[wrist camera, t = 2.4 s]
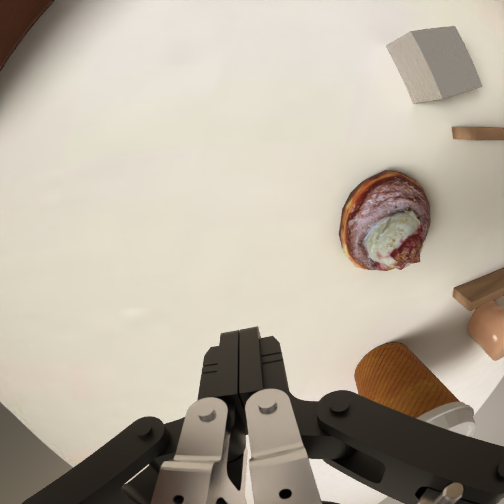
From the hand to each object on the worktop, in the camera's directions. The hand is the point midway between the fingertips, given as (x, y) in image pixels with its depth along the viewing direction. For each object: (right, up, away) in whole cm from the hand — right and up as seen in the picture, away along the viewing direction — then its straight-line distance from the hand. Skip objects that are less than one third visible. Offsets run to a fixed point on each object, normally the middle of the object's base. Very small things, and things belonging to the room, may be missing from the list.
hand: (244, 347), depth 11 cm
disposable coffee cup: (+13, -8, +14) cm, 21 cm away
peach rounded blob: (+27, -4, +13) cm, 30 cm away
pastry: (+10, +6, +9) cm, 15 cm away
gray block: (+14, +18, +5) cm, 23 cm away
